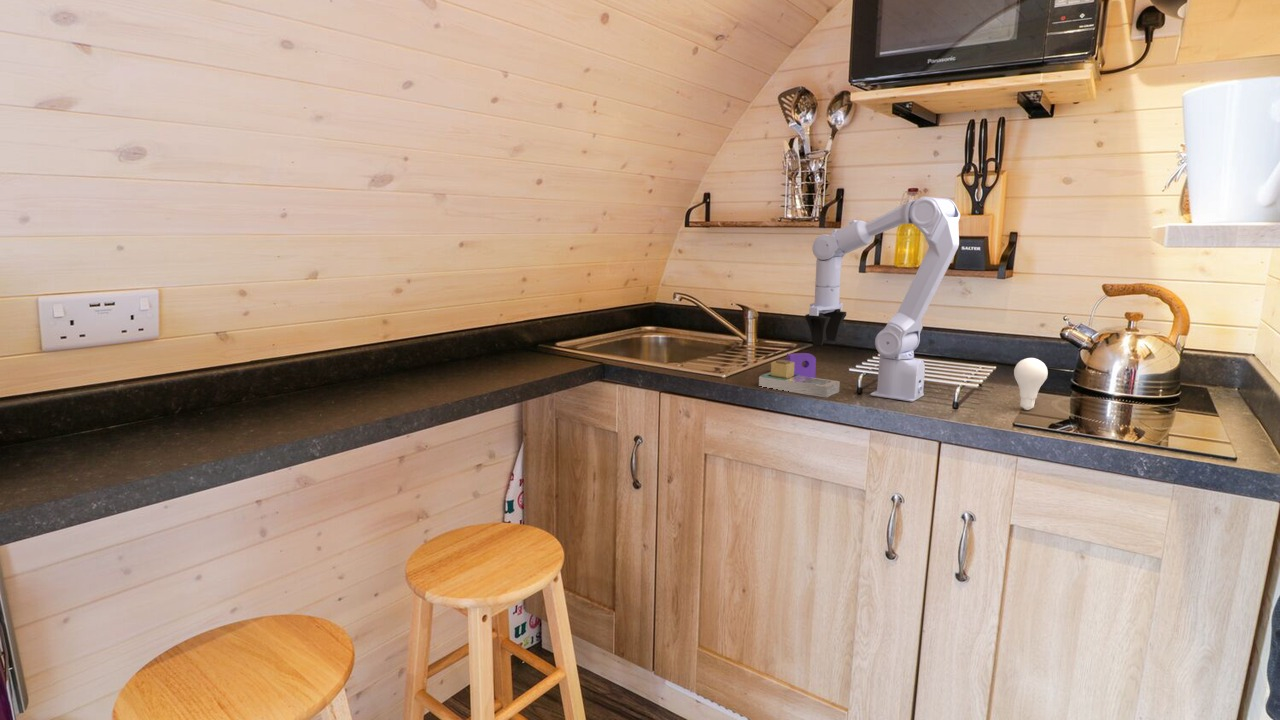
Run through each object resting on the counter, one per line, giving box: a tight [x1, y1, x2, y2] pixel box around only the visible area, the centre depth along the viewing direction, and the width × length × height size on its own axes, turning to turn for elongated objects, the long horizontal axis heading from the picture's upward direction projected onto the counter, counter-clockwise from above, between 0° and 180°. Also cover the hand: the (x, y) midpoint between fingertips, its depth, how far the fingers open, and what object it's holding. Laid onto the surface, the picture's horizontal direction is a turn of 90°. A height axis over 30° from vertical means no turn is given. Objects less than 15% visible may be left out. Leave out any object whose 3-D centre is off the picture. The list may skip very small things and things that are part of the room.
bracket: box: [784, 352, 817, 378], centre depth 181 cm, size 12×7×7 cm, turn 12°
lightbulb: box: [1013, 357, 1049, 411], centre depth 147 cm, size 6×6×11 cm
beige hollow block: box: [770, 359, 795, 379], centre depth 168 cm, size 4×4×6 cm
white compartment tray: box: [758, 371, 841, 399], centre depth 166 cm, size 17×7×3 cm, turn 51°
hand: (824, 342), depth 171 cm, fingers open, 7 cm apart
